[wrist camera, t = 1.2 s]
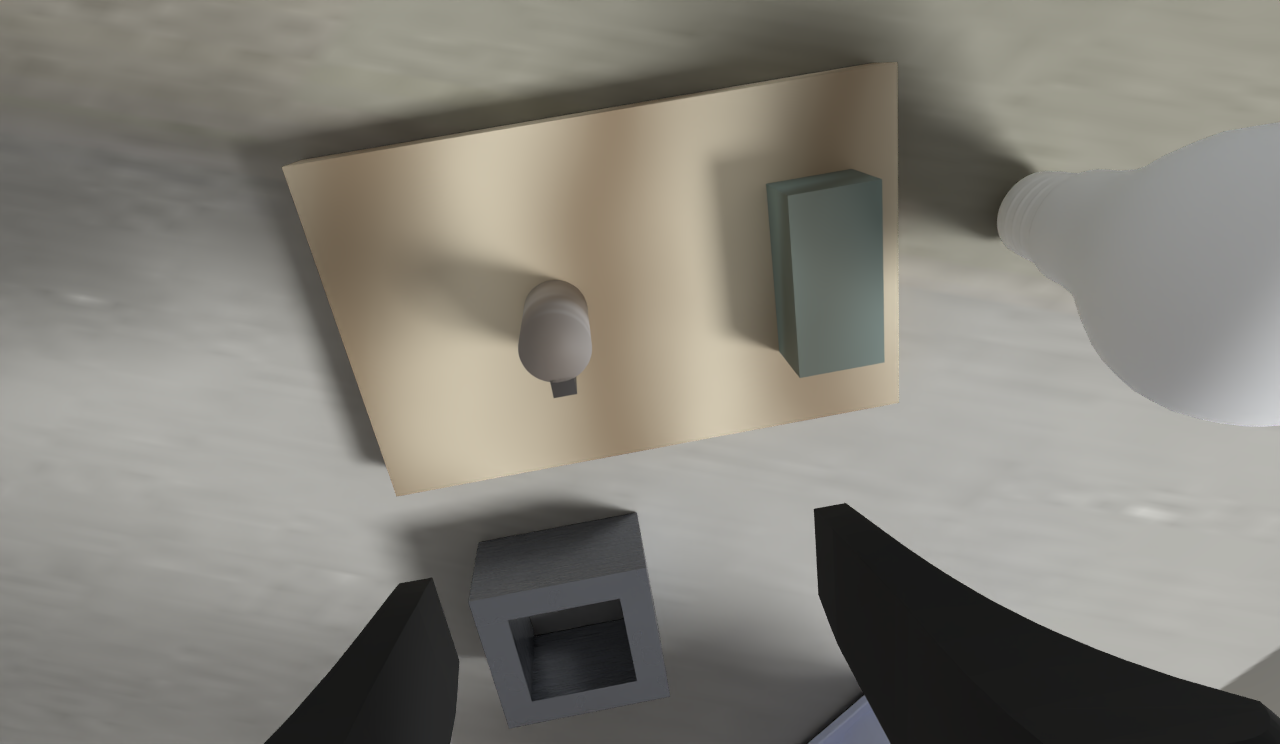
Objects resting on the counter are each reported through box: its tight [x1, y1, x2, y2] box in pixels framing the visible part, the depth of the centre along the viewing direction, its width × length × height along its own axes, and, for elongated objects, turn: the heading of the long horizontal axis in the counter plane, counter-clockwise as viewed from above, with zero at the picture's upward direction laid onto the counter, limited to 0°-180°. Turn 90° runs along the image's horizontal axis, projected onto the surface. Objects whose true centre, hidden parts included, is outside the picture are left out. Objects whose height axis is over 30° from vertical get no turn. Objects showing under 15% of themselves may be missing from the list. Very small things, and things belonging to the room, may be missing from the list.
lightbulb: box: [997, 122, 1280, 426], centre depth 17 cm, size 6×6×11 cm
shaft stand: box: [282, 62, 899, 496], centre depth 19 cm, size 16×10×4 cm, turn 99°
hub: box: [468, 513, 670, 728], centre depth 24 cm, size 6×6×3 cm
